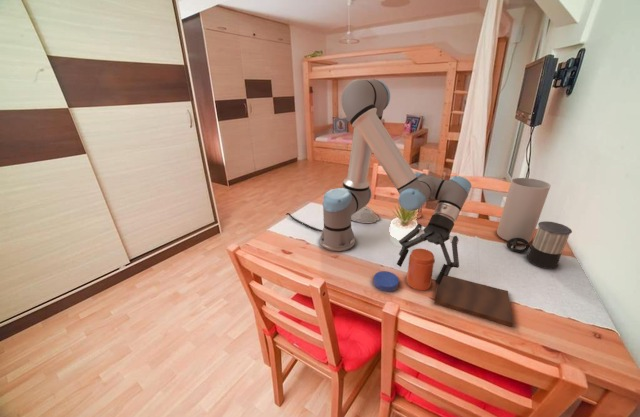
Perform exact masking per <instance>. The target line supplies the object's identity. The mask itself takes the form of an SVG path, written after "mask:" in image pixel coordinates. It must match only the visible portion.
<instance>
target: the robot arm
mask: <svg viewBox="0 0 640 417" xmlns="http://www.w3.org/2000/svg"><path fill="white" fill-rule="evenodd" d="M341 93H342V94H341V101H340V102H341V107H342V110H343V112H344V116H345V117H346V119H347V121H348V122H349V123H350V125H351V127H352V128H353V133H352V141H351V148H350V156H349V162H348V169H347V176H346V177H344V179H343V181H342V187H336V188H332V189H329V190H328V191H326V192H325V193H324V194H323V197H322V199H323V200H322V211H323V214H322V215H323V228H322V229H319V228H317V227H313V226H311V225H309V224H307V223H305V222H303V221H301V220H299V219H297V218H296V217H294V216H292V214H291V213H289V212H286V213H285V215H286V216H289V217H290V218H291V219H292V220H294V221H295V222H297V223H299V224H301V225H303V226H305V227H307V228H310V229H312V230H315V231H317V232H321V234H320V238H319V243H320V246H321V247H322V248H323V249H325V250H327V251H330V252H345V251H348V250H350V249H352V248H353V247H354V246H355V244H356V238H355V237H356V236H355V234H354V231H353V229H352V220H351V216H352V215H353V214H354V213H356V212H357V211H359V210H360V209H362V208H363V207H365V206H367V205H368V204H369V203H370V201H371V199H372V189H370V186H371V185H370V182H369V180H368V176H369V172H370V165H371V159H372V153H373V155H374V157H375V158H376V159H377V161H378V162H379V164H380V166H381V167H382V169H383V171H384V172H385V173H386V175H387V176H388V178H389V179H390V181H391V183H392V184H393V186H394V187H395V189H396V191H397V193H399V196H398V203H399V206H400V207H401V208H402V209H403V210H404V209H405V210H407V211H415V210H417V209H419V208H420V207H422V206H423V207H424V205H425V203H426V202H427V201H428V200H429V199H432V200H436V201H438V203H437V205H436V207H435V208H434V211H433V214H432V215H431V216H430V219H429V220H428V222H427V225H426V226H423V225H421V223H417V225H416V226H415V227H414V228H413V229H412V230H411V231H409V232H408V233H407V234H405V235H404V236H403V237H402V238H401V239H399V241H398V243H399V244H400V245H401V249H400V250H399V253H398V255H399V258H398V261H396V262H397V263H396V265H397V266H398V267H400V268H401V267H402V266H403V265H404V262H405V260H406V258H407V255H408V253H409V251H410V250H409V249H410V248H412V247H414V246H416V245H418V244H420V243H423V242H426V241H427V242H429V243H431V244H434V245H436V246H438V245H440V248H441V251H442V254H443V257H444V259H445V262H446V263H443V264H442V266H441V269H440V271H439V273H438V275H437V278H436V279H435V284H437V285H440V283H441V281H442V278H443V276H449V274H450V271H451V269H452V268H456V269H458V268H460V260H459V251H458V243H459V237H458V236H457V235H450V234H451V232H452V230H453V228H454V226H455V223H456V222H457V220H458V218H459V215H460V213H461V210H462V209H463V206H464V205H465V203H466V201H467V199H468V196H469V194H470V191H471V189H472V183H471V181H470V180H469V179H467V178H466V177H464V176H460V175H459V176H457V175H453V176H451V177H450V178H449V179H448V180H447V179H443V178H440V177H436V176H433V175H430V174H427V173H425V172H424V173H423V172H419V171H417V172H414V171H413V169H412V167H411V165H410V164H409V162H408V161H407V159H406V158H405V157H404V155H403V153H402V151H401V150H400V148H399V147H398V146H397V144H396V142H395V141H394V139H393V138H392V136H391V135H390V133H389V132H388V130H387V128H386V127H385V125H384V124H383V122H382V120H383V114H384V111H385V110H386V109H387V107H388V106H389V104H390V101H391V92H390V88H389V86H388V85H387V84H386V83H385V82H384V81H382V80H378V79H375V78H374V79H373V78H369V79H368V78H367V79H366V78H365V79H355V80H352V81H350V82H349V83H347V84H346V86H345V87H344V89H343V91H342V92H341ZM423 207H422V208H423ZM421 232H424V233H422V234H420V235H419V236H418V234H419V233H421ZM416 236H417V237H416ZM414 237H415V238H414ZM447 241H450V243H451V248H452V251H451V252H452V260H453V261H452V260H451V257H450V254H449V252H448V249H447V246H446V243H445V242H447Z"/></svg>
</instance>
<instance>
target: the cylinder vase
mask: <svg viewBox="0 0 640 417" xmlns="http://www.w3.org/2000/svg"><path fill="white" fill-rule="evenodd" d="M509 184H510V185H509V187H508V191H507V194H506V198H505V202H504V205H503V209H502V211H501V215H500V219H499V222H498V226H497V229H496V234H497V236H498V237H499V238H500V239H502V240H503V241H506V242H507V241H508V240H510V239H513V238H522V239H525V240H526V241H527V242H528V243H529V244H530V242H532V241H533V237H534V234H535V231H536V229H537V226H538V224H539V220H540V217H541V214H542V212H543V209H544V206H545V203H546V200H547V197H548V195H549V192H550V189H551V184H550V183H549V182H546V181H544V180H540V179H535V178H529V177H514V178H512V179H511V180H510V183H509ZM517 244H518V245H525V244H524V243H522V242H519V241H517V243H516V245H517Z"/></svg>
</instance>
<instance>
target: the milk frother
mask: <svg viewBox="0 0 640 417" xmlns="http://www.w3.org/2000/svg"><path fill="white" fill-rule="evenodd" d="M537 226H538V227H537V230H536V233H535V236H534V239H533V240H532V241H533V242H532V243H531V244H530V242H529V243H528V242H527V241H526V240H525V239H522V238H513V239H510V240H508V241H506V244H505V245H506V247H507V248H508V249H509V250H510V251H512V252H514V253H515V252H516V253H525V252H527V251H528V250H529V249H530V250H529V251H528V254H527V255H526V259H527V261H528V262H529V263H530V264H532V265H534V266H537V267H540V268H542V269H549V270H553V269H557V268H558V266H559V261H560V259H561V257H562V254H563V252H564V249H565V247H566V245H567V242H568V239H569V237H570V235H571V234H572V233H573V229H571V228H570V227H569V226H567V225H564V224H562V223H558V222H554V221H547V220H546V221H545V220H544V221H539V222H538V223H537ZM517 241H519V242H522V243H524V244H523V245H524V248H516V247H517Z"/></svg>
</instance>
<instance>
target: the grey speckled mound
mask: <svg viewBox="0 0 640 417" xmlns="http://www.w3.org/2000/svg"><path fill="white" fill-rule="evenodd" d="M379 220H380V217H379V216H378V215H377V214H376V213H375V212H374V211H373V210H372V209H371V207H368V206H367V205H366V206H365V207H363V208H362V209H360V210H359V211H357V212H356V213H354V214H353V215H352V216H351V221H353V222H358V223H362V224H373V223H376V222H377V221H379Z"/></svg>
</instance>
